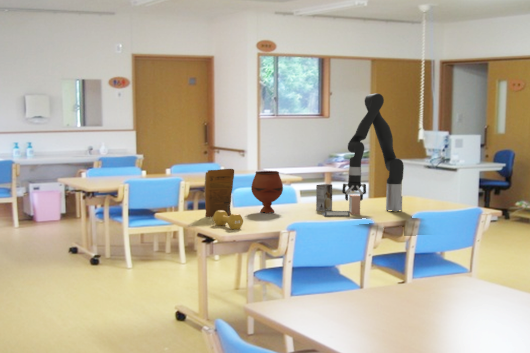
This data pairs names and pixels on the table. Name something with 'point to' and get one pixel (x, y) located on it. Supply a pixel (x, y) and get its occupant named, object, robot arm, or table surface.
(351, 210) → the shelf carton
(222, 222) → the dumbbell
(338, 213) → the shelf board
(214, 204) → the pancake mix bag
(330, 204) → the coffee box
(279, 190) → the goblet
